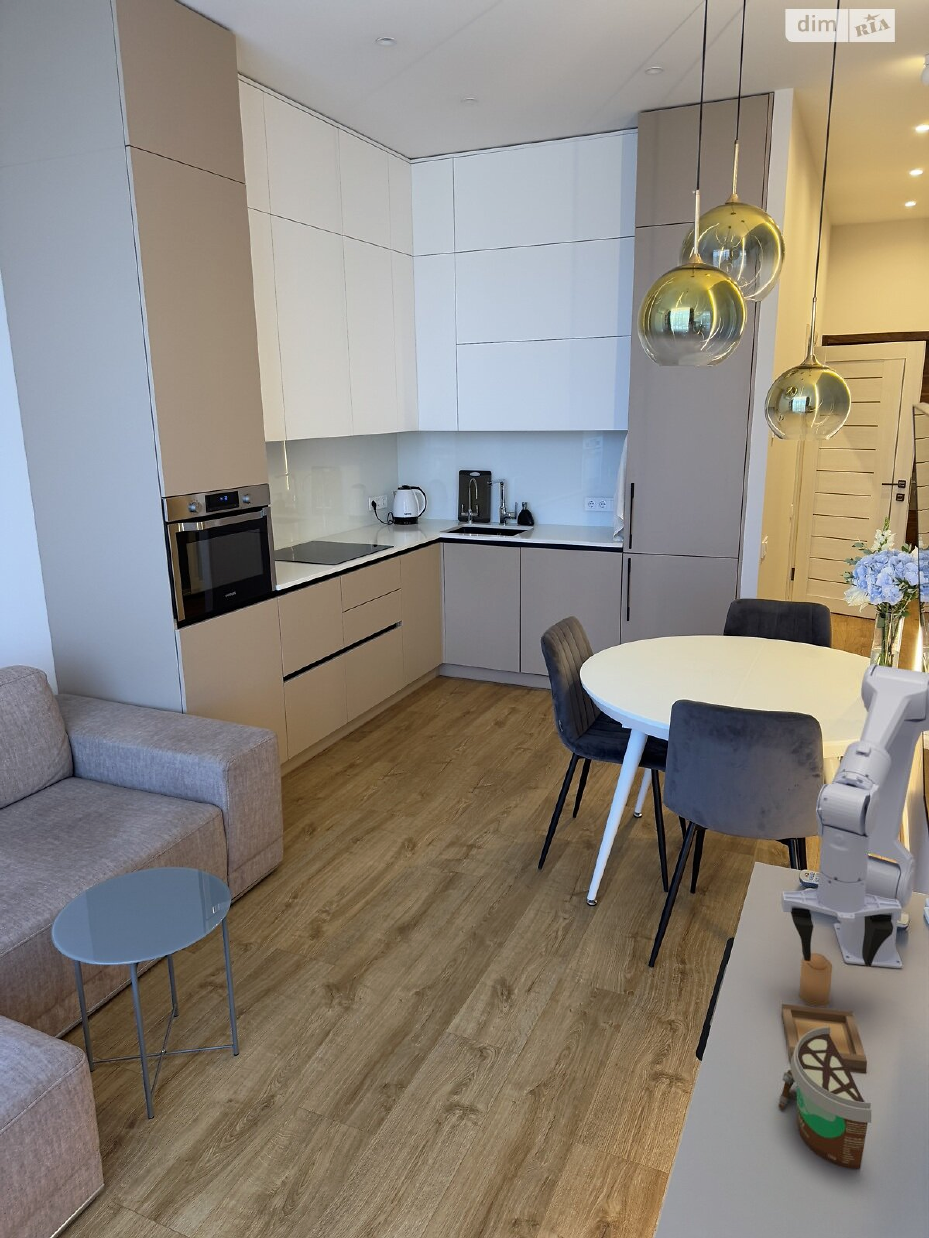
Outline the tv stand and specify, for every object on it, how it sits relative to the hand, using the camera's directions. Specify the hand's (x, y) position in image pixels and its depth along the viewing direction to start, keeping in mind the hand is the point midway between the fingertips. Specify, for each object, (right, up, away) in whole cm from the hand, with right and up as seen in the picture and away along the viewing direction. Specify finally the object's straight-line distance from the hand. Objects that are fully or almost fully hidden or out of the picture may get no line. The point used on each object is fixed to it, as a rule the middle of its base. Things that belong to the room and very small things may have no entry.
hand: (836, 958), depth 115 cm
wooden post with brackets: (-9, -13, -10) cm, 19 cm away
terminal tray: (-3, -10, -3) cm, 11 cm away
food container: (-9, -14, -16) cm, 24 cm away
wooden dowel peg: (-1, -8, +5) cm, 9 cm away
